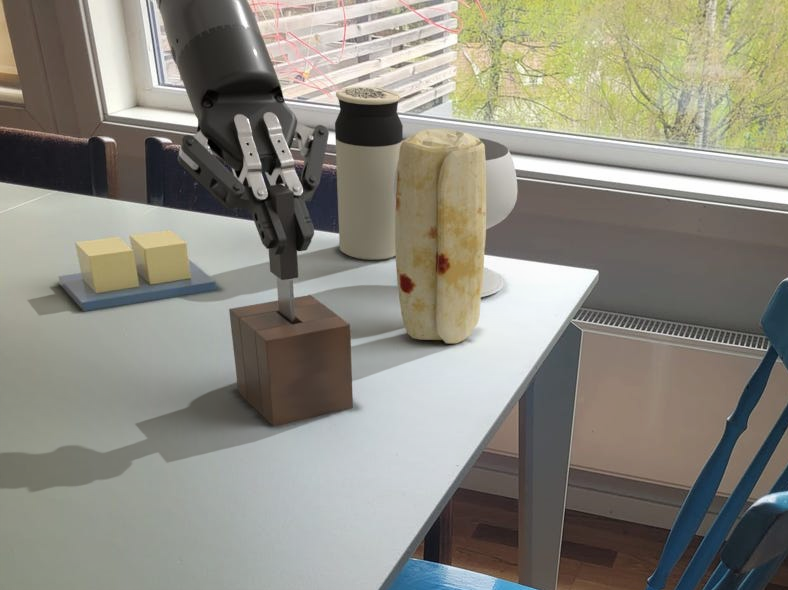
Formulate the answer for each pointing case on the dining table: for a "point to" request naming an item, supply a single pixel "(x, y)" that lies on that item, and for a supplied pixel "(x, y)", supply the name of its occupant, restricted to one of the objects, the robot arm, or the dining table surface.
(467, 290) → the food model
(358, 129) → the travel mug
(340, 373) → the knife block
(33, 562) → the dining table surface
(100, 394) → the dining table surface
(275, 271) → the knife
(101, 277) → the butter
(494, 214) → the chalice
